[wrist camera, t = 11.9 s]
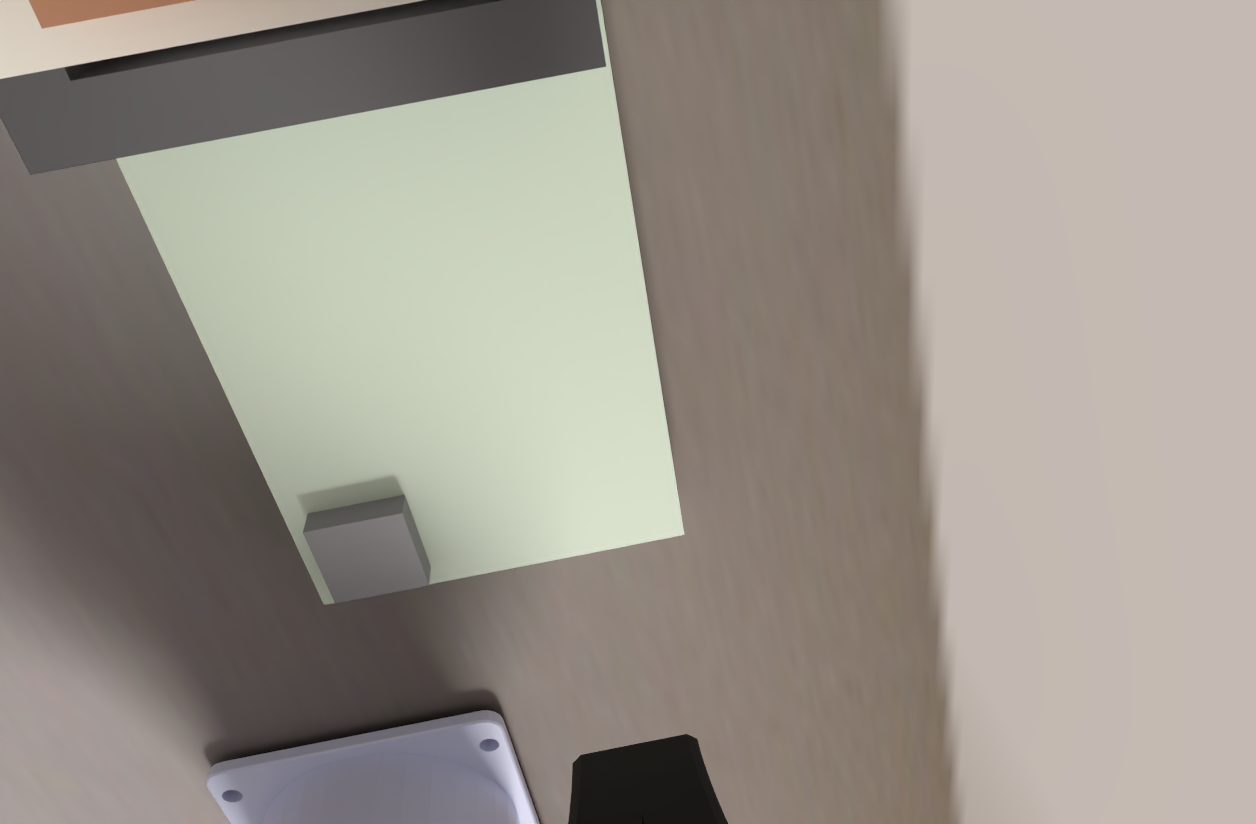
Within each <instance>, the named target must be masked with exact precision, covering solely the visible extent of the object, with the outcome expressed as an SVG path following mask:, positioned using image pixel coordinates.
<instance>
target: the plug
mask: <svg viewBox="0 0 1256 824" xmlns="http://www.w3.org/2000/svg"><path fill="white" fill-rule="evenodd" d="M418 1H423V0H0V79H3V78H8V77H14V76H19V75H24V74H30V73H35V72H41V71H46V70H51V69H57V68H62V67H68V66H73V65H78V64H84V63H89V62H94V61H100V60H105V59H111V58H116V57H121V56H127V55H132V54H138V53H143V52H148V51H154V50H159V49H165V48H170V47H175V46H181V45H186V44H192V43H197V42H202V41H208V40H213V39H218V38H224V37H229V36H235V35H240V34H245V33H251V32H256V31H262V30H267V29H272V28H278V27H283V26H289V25H294V24H299V23H305V22H310V21H315V20H321V19H326V18H332V17H337V16H342V15H348V14H353V13H359V12H364V11H369V10H375V9H380V8H386V7H391V6H396V5H402V4H407V3H412V2H418Z"/></svg>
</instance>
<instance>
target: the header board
mask: <svg viewBox="0 0 1256 824" xmlns="http://www.w3.org/2000/svg"><path fill="white" fill-rule="evenodd" d="M0 118H1V119H2V121H3V123H4V125H5V127H6V129H7V131H8V133H9V135H10V137H11V139H12V140H13V142H14V144H15V146H16V148H17V150H18V152H19V154H20V156H21V158H22V160H23V161H24V163H25V165H26V167H27V169H28V171H29V173H30V175H32V174H37V173H42V172H48V171H53V170H58V169H64V168H69V167H74V166H80V165H85V164H90V163H96V162H101V161H106V160H112V159H116V160H117V162H118V165H119V167H120V169H121V171H122V173H123V175H124V177H125V180H126V182H127V184H128V186H129V188H130V190H131V192H132V195H133V197H134V199H135V201H136V203H137V205H138V207H139V210H140V212H141V214H142V216H143V218H144V220H145V222H146V225H147V227H148V229H149V231H150V233H151V235H152V237H153V240H154V242H155V244H156V246H157V248H158V250H159V252H160V255H161V257H162V259H163V261H164V263H165V265H166V267H167V270H168V272H169V274H170V276H171V278H172V280H173V282H174V285H175V287H176V289H177V291H178V293H179V295H180V297H181V300H182V302H183V304H184V306H185V308H186V310H187V312H188V315H189V317H190V319H191V321H192V323H193V325H194V327H195V330H196V332H197V334H198V336H199V338H200V340H201V342H202V345H203V347H204V349H205V351H206V353H207V355H208V357H209V360H210V362H211V364H212V366H213V368H214V370H215V372H216V375H217V377H218V379H219V381H220V383H221V385H222V388H223V390H224V392H225V394H226V396H227V398H228V400H229V403H230V405H231V407H232V409H233V411H234V413H235V415H236V418H237V420H238V422H239V424H240V426H241V428H242V430H243V433H244V435H245V437H246V439H247V441H248V443H249V445H250V448H251V450H252V452H253V454H254V456H255V458H256V460H257V463H258V465H259V467H260V469H261V471H262V473H263V475H264V478H265V480H266V482H267V484H268V486H269V488H270V490H271V493H272V495H273V497H274V499H275V501H276V503H277V505H278V508H279V510H280V512H281V514H282V516H283V518H284V520H285V523H286V525H287V527H288V529H289V531H290V533H291V535H292V538H293V540H294V542H295V544H296V546H297V548H298V550H299V553H300V555H301V557H302V559H303V561H304V563H305V565H306V568H307V570H308V572H309V574H310V576H311V578H312V580H313V583H314V585H315V587H316V589H317V591H318V593H319V595H320V598H321V600H322V602H323V604H324V605H327V604H332V603H335V604H338V603H343V602H348V601H353V600H358V599H363V598H368V597H374V596H379V595H384V594H389V593H394V592H399V591H404V590H409V589H415V588H420V587H425V586H429V584H434V583H439V582H445V581H450V580H455V579H460V578H465V577H470V576H475V575H480V574H486V573H491V572H496V571H501V570H506V569H511V568H516V567H521V566H526V565H532V564H537V563H542V562H547V561H552V560H557V559H562V558H567V557H573V556H578V555H583V554H588V553H593V552H598V551H603V550H608V549H614V548H619V547H624V546H629V545H634V544H639V543H644V542H649V541H654V540H660V539H665V538H670V537H675V536H680V535H684V530H683V524H682V517H681V511H680V505H679V498H678V492H677V486H676V479H675V473H674V466H673V460H672V454H671V447H670V441H669V435H668V428H667V422H666V415H665V409H664V403H663V396H662V390H661V383H660V377H659V371H658V364H657V358H656V352H655V345H654V339H653V332H652V326H651V320H650V313H649V307H648V300H647V294H646V288H645V281H644V275H643V269H642V262H641V256H640V249H639V243H638V237H637V230H636V224H635V217H634V211H633V205H632V198H631V192H630V186H629V179H628V173H627V166H626V160H625V154H624V147H623V141H622V134H621V128H620V122H619V115H618V109H617V103H616V96H615V90H614V83H613V77H612V71H611V64H610V58H609V52H608V45H607V39H606V32H605V26H604V20H603V13H602V7H601V0H423V1H418V2H412V3H407V4H402V5H396V6H391V7H386V8H380V9H375V10H369V11H364V12H359V13H353V14H348V15H342V16H337V17H332V18H326V19H321V20H315V21H310V22H305V23H299V24H294V25H289V26H283V27H278V28H272V29H267V30H262V31H256V32H251V33H245V34H240V35H235V36H229V37H224V38H218V39H213V40H208V41H202V42H197V43H192V44H186V45H181V46H175V47H170V48H165V49H159V50H154V51H148V52H143V53H138V54H132V55H127V56H121V57H116V58H111V59H105V60H100V61H94V62H89V63H84V64H78V65H73V66H68V67H62V68H57V69H51V70H46V71H41V72H35V73H30V74H24V75H19V76H14V77H8V78H3V79H0Z"/></svg>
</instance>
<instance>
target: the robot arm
mask: <svg viewBox="0 0 1256 824" xmlns="http://www.w3.org/2000/svg"><path fill="white" fill-rule="evenodd" d="M205 783H206V786H207V788H208V789H209V791H210V792H211V794H212V795H213V797H214V798H215V800H216V801H217V803H218V804H219V806H220V807H221V809H222V810H223V812H224V813H225V815H226V817H227V818H228V820H229V821H230V823H231V824H540V823H539V820H538V817H537V814H536V811H535V809H534V806H533V803H532V800H531V797H530V794H529V791H528V789H527V786H526V783H525V780H524V777H523V774H522V771H521V769H520V766H519V763H518V760H517V757H516V754H515V751H514V749H513V746H512V743H511V740H510V737H509V734H508V731H507V729H506V726H505V723H504V720H503V718H502V717H501V715H499V714H498V713H496V712H494V711H489V710H482V711H476V712H471V713H466V714H461V715H456V716H451V717H446V718H441V719H436V720H431V721H426V722H421V723H416V724H411V725H405V726H400V727H395V728H390V729H385V730H380V731H375V732H370V733H365V734H360V735H355V736H350V737H345V738H340V739H335V740H330V741H324V742H319V743H314V744H309V745H304V746H299V747H294V748H289V749H284V750H279V751H274V752H269V753H264V754H259V755H254V756H248V757H243V758H238V759H233V760H228V761H223V762H220V763H217V764H214V765H213V766H212V767H211V768H210V769H209V772H208V775H207V779H206V782H205ZM568 824H728V822H727V820H726V818H725V816H724V813H723V811H722V809H721V806H720V804H719V802H718V799H717V797H716V794H715V792H714V789H713V787H712V784H711V782H710V779H709V776H708V773H707V770H706V767H705V764H704V761H703V758H702V755H701V752H700V748H699V744H698V740H697V739H696V738H694V737H692V736H690V735H687V734H685V735H680V736H675V737H670V738H665V739H659V740H654V741H649V742H644V743H639V744H634V745H629V746H624V747H619V748H614V749H609V750H604V751H599V752H594V753H589V754H584V755H580V756H579V757H578V759H577V760H576V761H575V762H574V763H573V772H572V793H571V804H570V814H569V823H568Z"/></svg>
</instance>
